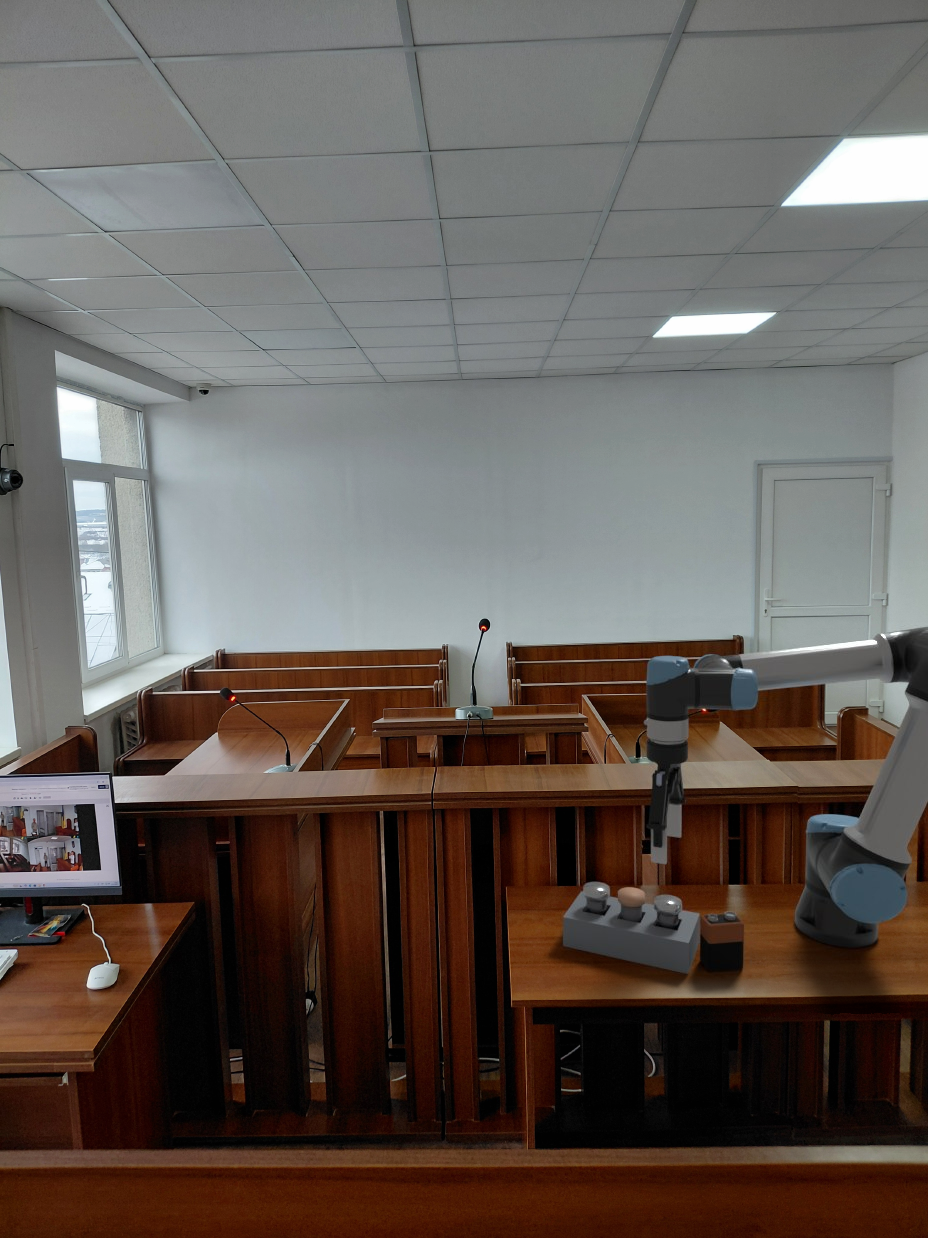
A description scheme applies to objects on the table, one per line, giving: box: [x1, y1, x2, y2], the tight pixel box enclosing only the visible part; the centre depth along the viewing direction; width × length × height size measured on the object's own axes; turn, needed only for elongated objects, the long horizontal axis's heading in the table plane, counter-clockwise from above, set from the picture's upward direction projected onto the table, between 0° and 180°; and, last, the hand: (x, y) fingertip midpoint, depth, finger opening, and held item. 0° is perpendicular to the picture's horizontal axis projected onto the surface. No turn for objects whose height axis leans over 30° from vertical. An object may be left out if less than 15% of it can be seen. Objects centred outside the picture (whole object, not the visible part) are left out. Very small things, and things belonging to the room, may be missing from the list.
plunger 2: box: [653, 894, 683, 931], centre depth 149 cm, size 5×5×6 cm
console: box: [562, 890, 701, 975], centre depth 152 cm, size 24×12×6 cm, turn 64°
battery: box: [699, 910, 745, 973], centre depth 144 cm, size 4×7×10 cm, turn 96°
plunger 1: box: [582, 881, 611, 916], centre depth 155 cm, size 5×5×6 cm
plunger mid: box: [617, 886, 646, 923], centre depth 152 cm, size 5×5×6 cm
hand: (666, 849), depth 147 cm, fingers open, 13 cm apart
